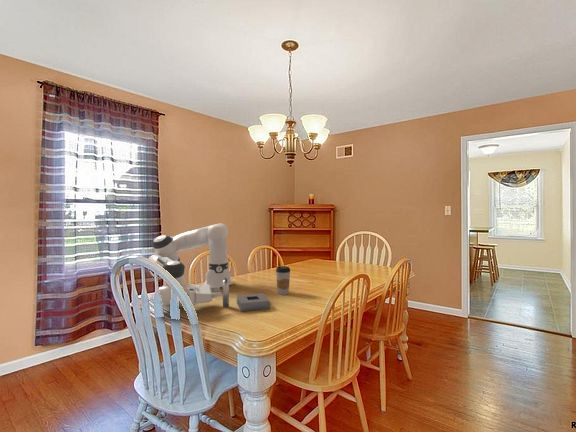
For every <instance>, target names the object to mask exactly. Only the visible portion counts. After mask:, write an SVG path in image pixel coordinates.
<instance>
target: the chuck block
mask: <svg viewBox="0 0 576 432" xmlns="http://www.w3.org/2000/svg"><path fill="white" fill-rule="evenodd" d="M236 304H237V307H238V309H239V311H240V312H241V313H242V312H243V313H244V312H252V311H254V312H255V311H262V310H263V311H264V310H270V308H271V301H270V299H269V298H268V297H267V296H266V295H265V293H251V294H238V295H236Z"/></svg>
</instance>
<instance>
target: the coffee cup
mask: <svg viewBox="0 0 576 432" xmlns="http://www.w3.org/2000/svg"><path fill="white" fill-rule="evenodd" d="M275 273H276V275H275V276H276V288H277V291H276V292H277V294H278V295H282V296H284V295H288V294H289V293H290V278H291V277H290V276H291V267H289V266H285V265H283V266H276V268H275Z"/></svg>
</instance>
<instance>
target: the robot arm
mask: <svg viewBox="0 0 576 432" xmlns="http://www.w3.org/2000/svg"><path fill="white" fill-rule="evenodd" d="M228 236H229V228H228V226H227V225H226V224H224V223H221V222H219V223H215V224H211V225H208V226H203V227H200V228H196V229H193V230H189V231H185V232H182V233H181V232H180V233H179V234H177V235H175V236H171V235H170V236H169V235H165V234H162V235H159V236H157V237H155V238H154V239H153V241H152V247H153V249H154V251H155V254H152V255H150V256H149V257H148V258H147V260H148V259H150V260H151V261H153V262H156V263H157V264H159V265H160V266H162V267H163V268H164V269H165V270H167V271H168V272H169V273H170V274H171V275H172V276H173V277H174V278H175V279H176V280H177V281H178V282H179V283H180V285H181V286H182V287H183V289H184V291H185V292H186V293H187V295H188V296H189V298H190V300H191V302H192V304H193V305H192V306H194V305H196V304H205V303H206V304H207V303H210V302H212V301H213V299H215V298H217V297H222V292H221V291H220V288H223V280H224V277H226V278H227V280H229V286H230V285H234V282H233V281H232V279H231V278H232V277H231V271H230V270H229V262H228V247H227V245H228V244H227V238H228ZM205 245H208V248H209V249H208V250H209V263H208V270H207V272H206V273H205V281H204V283H203V284H198V285H195V284H194V283H190V284H185V271H186V270H185V264H184V263H182V262H181V259H180V255H179V253H178V252H180V251H181V252H182V251H187V250H192V249H195V248H199V247H203V246H205ZM149 273H150V275H151V276H152V277H154V274H153V273H152V272H151V271H149ZM154 278H155V277H154ZM158 280H162V279H161V278H159V279H158ZM159 291H160V295H161V298H162V302H163V305H162V306H169V305H170V300H171V289H170V288H169V287H168V286H167V285H166V283H165V282H164V281H163V285H162V286H159ZM178 304H181V303H180V301H179V303H178ZM170 306H171V305H170Z"/></svg>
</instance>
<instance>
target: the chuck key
mask: <svg viewBox="0 0 576 432" xmlns="http://www.w3.org/2000/svg"><path fill="white" fill-rule="evenodd" d="M222 307H223V308H225V307H226V308H229V307H230V285H229V280H227V278H226V277H224V280H223V287H222Z"/></svg>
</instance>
